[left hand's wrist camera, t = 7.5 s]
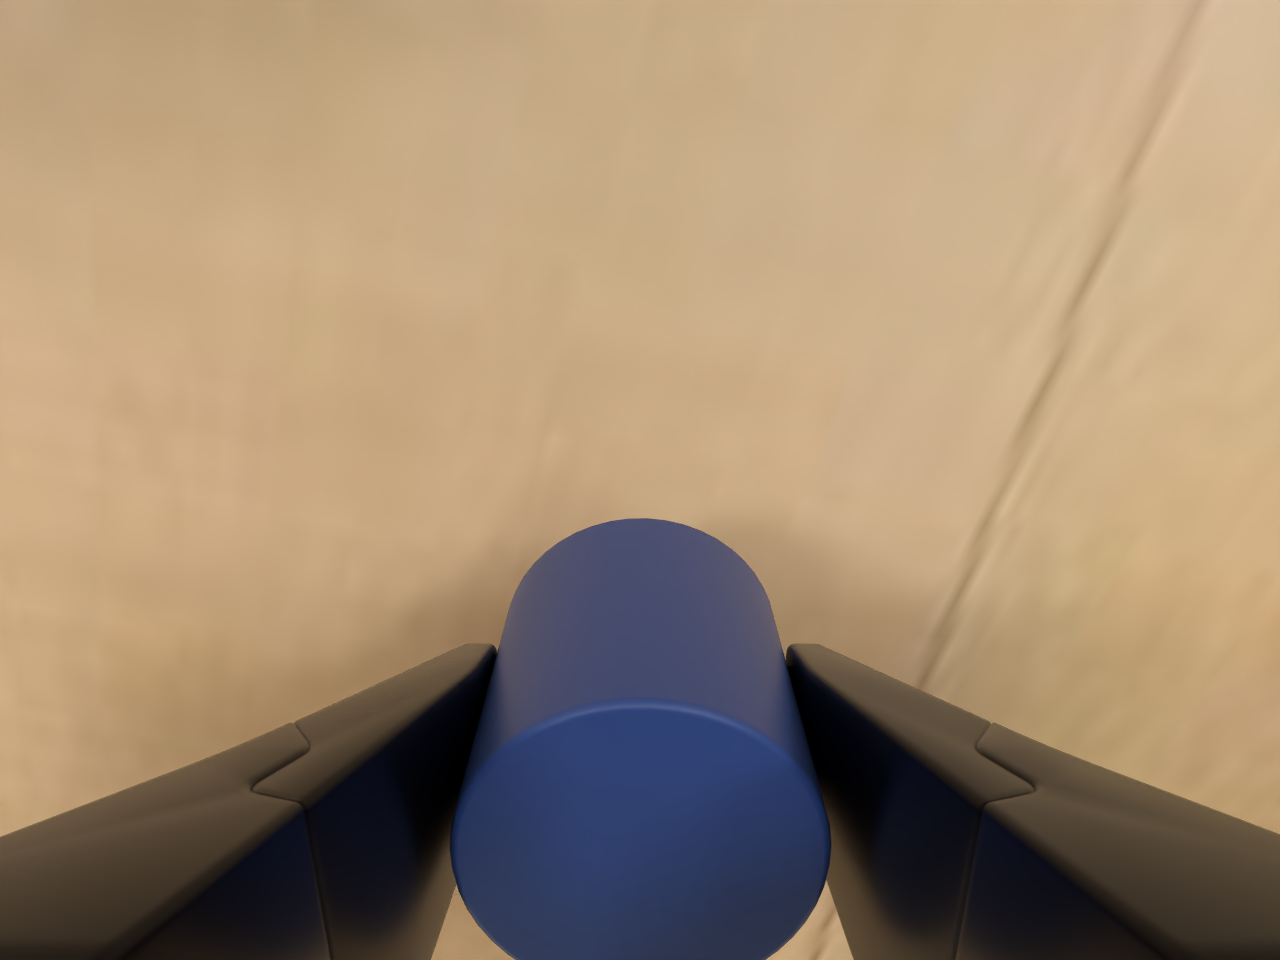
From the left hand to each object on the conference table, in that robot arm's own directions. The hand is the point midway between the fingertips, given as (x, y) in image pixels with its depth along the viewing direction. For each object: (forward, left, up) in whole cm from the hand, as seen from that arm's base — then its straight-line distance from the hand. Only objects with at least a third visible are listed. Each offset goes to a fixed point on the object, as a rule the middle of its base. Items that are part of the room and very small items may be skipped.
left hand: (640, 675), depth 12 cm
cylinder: (0, 0, -1) cm, 1 cm away
